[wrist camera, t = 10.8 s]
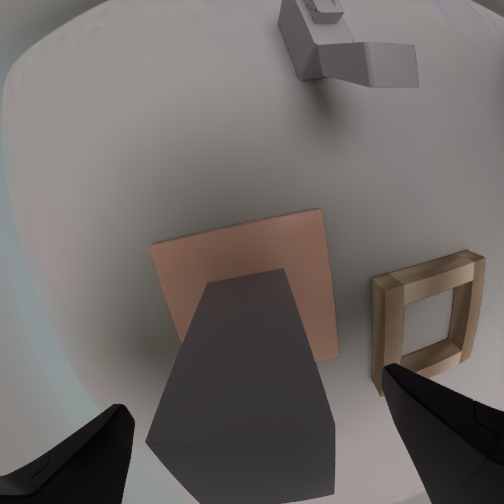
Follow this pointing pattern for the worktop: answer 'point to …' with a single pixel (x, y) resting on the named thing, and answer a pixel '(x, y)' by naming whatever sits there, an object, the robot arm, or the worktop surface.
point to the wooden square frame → (416, 288)
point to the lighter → (341, 48)
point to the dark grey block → (246, 400)
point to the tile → (254, 269)
